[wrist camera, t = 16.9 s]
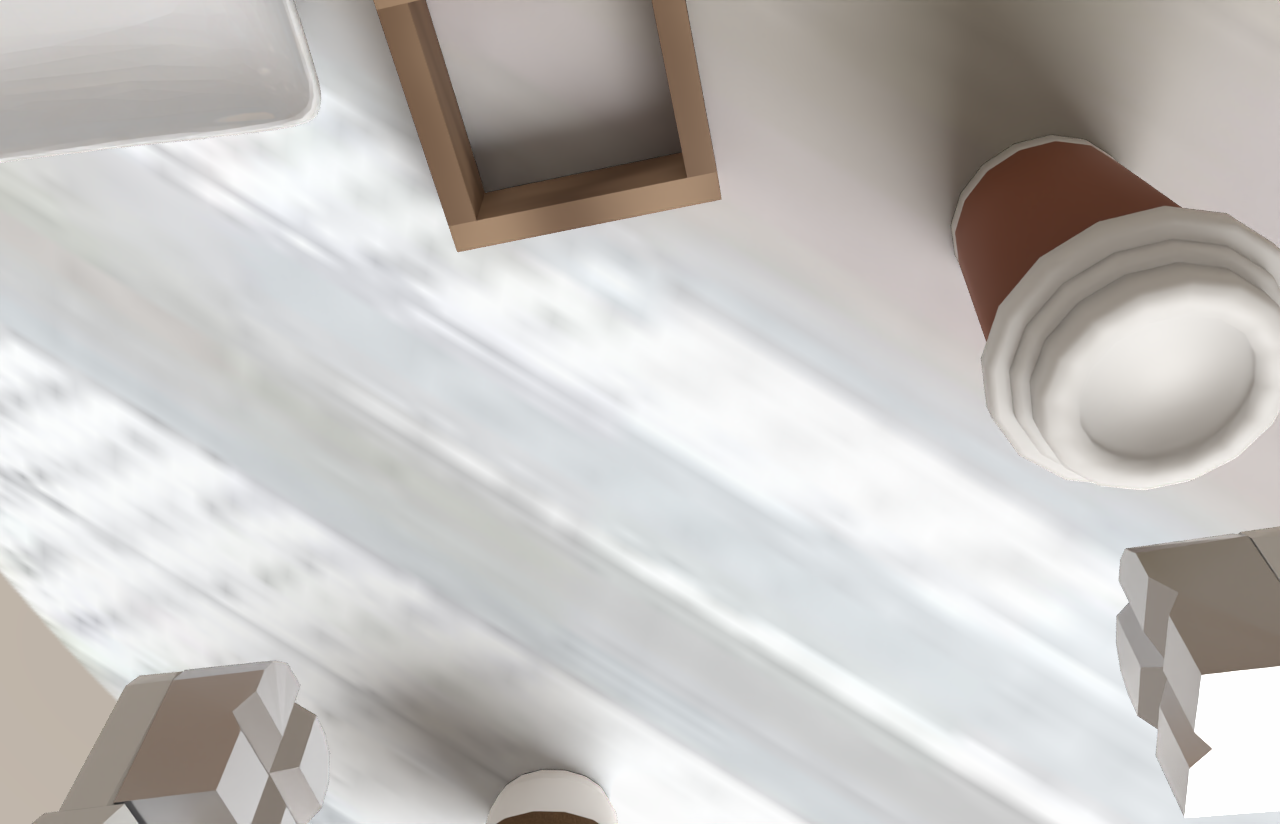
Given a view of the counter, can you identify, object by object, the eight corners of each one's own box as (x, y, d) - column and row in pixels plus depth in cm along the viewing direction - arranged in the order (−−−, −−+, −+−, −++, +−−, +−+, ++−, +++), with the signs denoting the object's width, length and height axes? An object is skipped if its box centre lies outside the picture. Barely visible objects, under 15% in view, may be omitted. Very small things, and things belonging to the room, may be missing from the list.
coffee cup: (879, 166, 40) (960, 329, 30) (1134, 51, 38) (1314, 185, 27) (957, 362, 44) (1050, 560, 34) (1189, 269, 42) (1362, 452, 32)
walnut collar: (665, -107, 35) (667, -94, 33) (717, 172, 40) (721, 199, 38) (381, -41, 36) (365, -24, 34) (466, 223, 41) (457, 252, 39)
